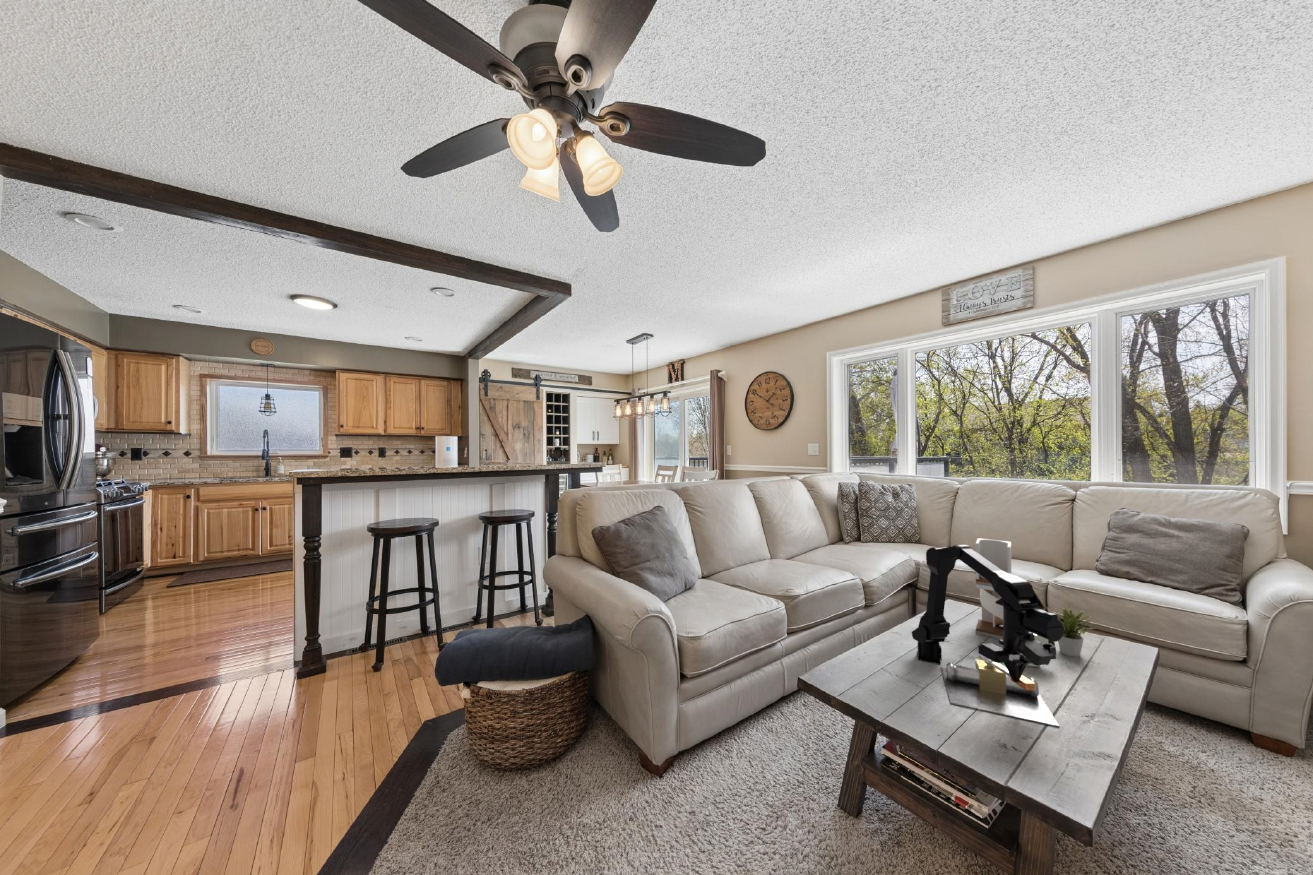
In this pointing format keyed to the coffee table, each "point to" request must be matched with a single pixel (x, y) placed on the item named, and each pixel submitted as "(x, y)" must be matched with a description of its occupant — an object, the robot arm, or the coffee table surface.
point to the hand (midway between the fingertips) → (1015, 681)
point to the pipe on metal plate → (994, 693)
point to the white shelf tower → (991, 611)
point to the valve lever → (1022, 682)
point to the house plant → (1072, 633)
